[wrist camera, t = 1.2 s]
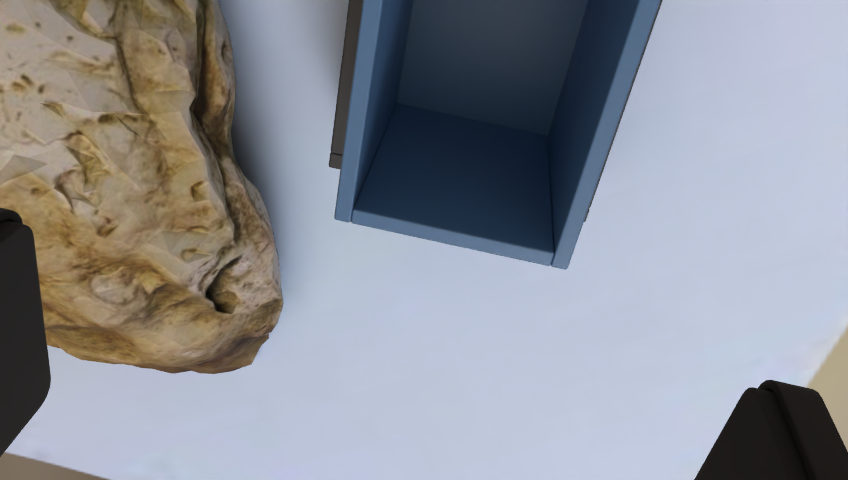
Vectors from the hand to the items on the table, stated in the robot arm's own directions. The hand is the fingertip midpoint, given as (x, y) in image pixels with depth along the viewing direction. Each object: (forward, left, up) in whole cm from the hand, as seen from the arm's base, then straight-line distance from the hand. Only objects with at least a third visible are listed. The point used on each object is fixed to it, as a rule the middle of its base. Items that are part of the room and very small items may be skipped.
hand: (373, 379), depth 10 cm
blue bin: (-1, +1, -20) cm, 20 cm away
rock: (+7, -15, -21) cm, 27 cm away
